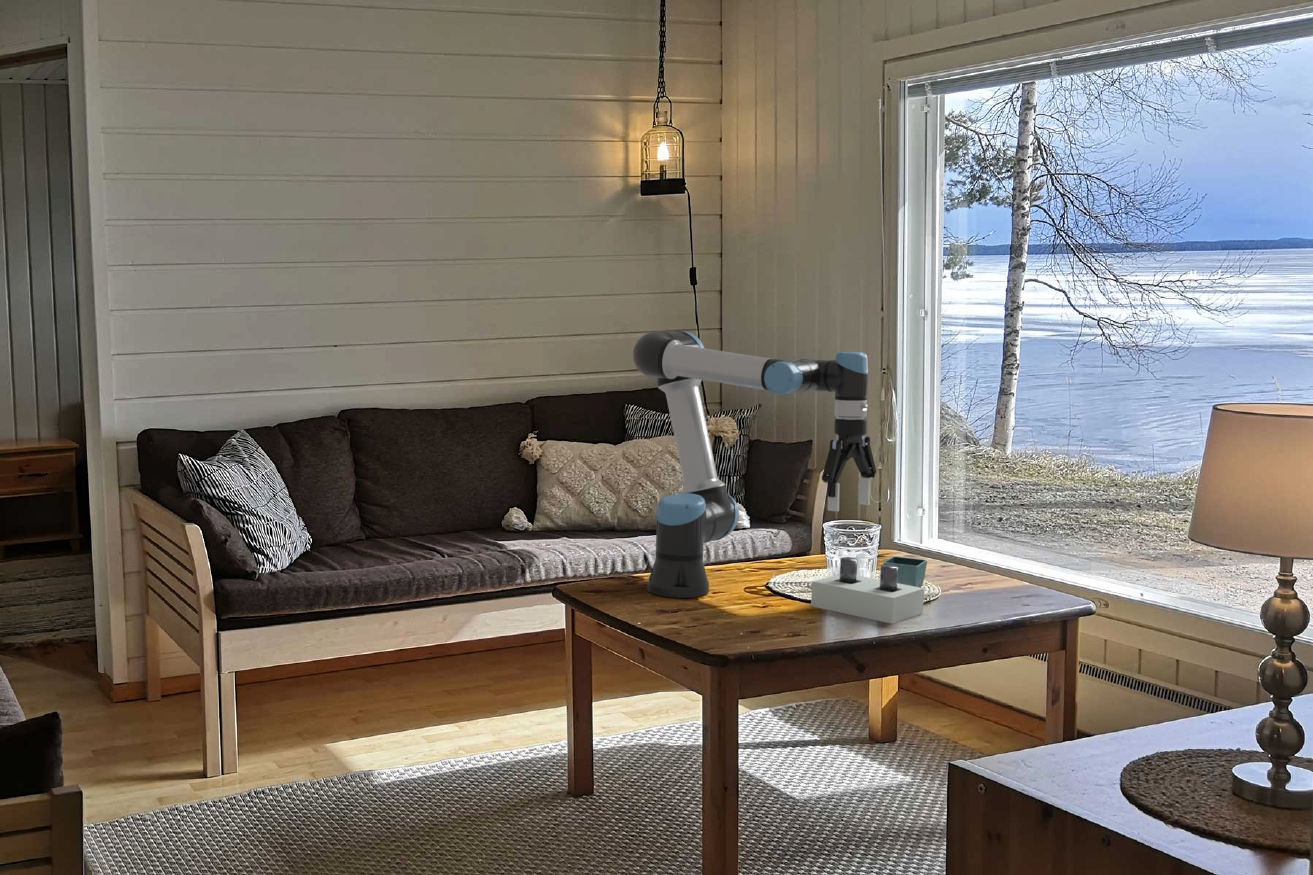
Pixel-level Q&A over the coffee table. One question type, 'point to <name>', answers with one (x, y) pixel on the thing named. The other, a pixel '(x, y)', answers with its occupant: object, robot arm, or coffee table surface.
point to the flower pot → (909, 570)
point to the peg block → (867, 599)
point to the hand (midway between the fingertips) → (849, 507)
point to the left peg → (848, 570)
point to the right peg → (888, 578)
